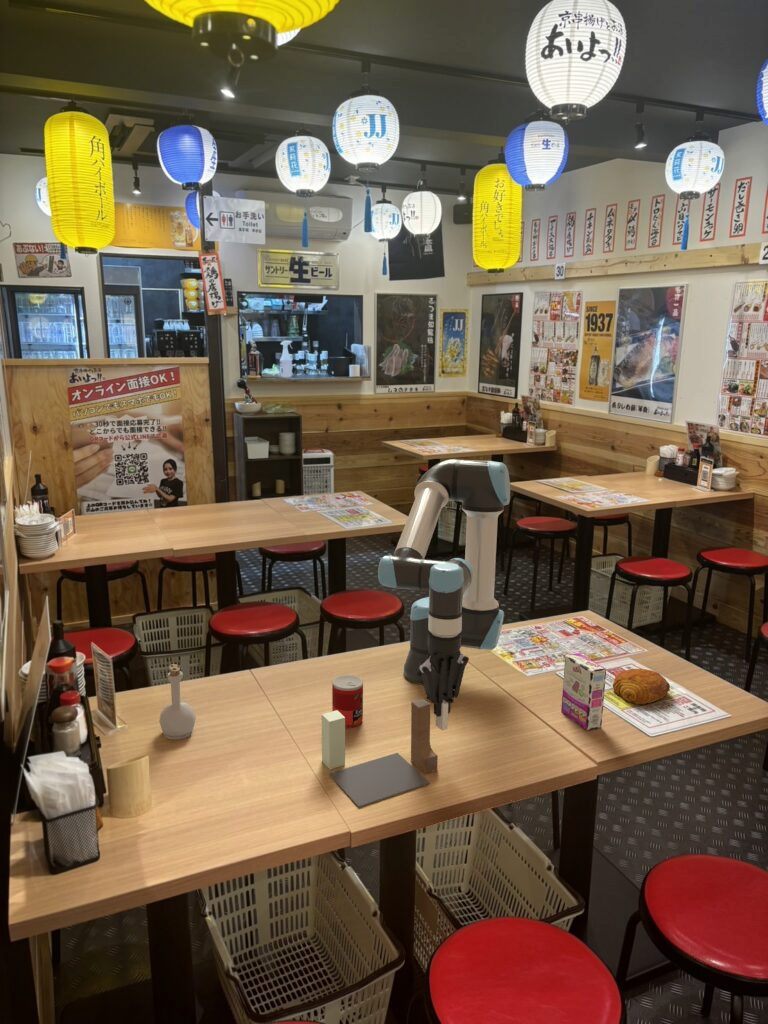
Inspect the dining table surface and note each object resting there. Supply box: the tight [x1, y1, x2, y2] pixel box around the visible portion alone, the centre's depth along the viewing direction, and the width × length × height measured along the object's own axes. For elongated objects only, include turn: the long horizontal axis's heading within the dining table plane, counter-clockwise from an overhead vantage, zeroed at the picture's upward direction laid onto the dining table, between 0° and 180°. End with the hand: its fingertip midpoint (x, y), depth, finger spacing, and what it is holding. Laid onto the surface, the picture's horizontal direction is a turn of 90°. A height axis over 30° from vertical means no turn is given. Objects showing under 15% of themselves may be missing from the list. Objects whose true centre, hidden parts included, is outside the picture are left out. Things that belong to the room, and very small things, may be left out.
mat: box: [328, 752, 431, 809], centre depth 164 cm, size 18×14×1 cm
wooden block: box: [410, 698, 439, 774], centre depth 169 cm, size 7×3×15 cm, turn 30°
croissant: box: [612, 668, 670, 705], centre depth 207 cm, size 14×16×8 cm
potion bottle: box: [158, 663, 197, 741], centre depth 181 cm, size 9×9×18 cm
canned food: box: [331, 675, 364, 729], centre depth 189 cm, size 8×8×11 cm
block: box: [321, 710, 346, 770], centre depth 169 cm, size 4×4×12 cm
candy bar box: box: [560, 652, 607, 731], centre depth 190 cm, size 11×5×16 cm, turn 23°
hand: (441, 726), depth 170 cm, fingers closed
